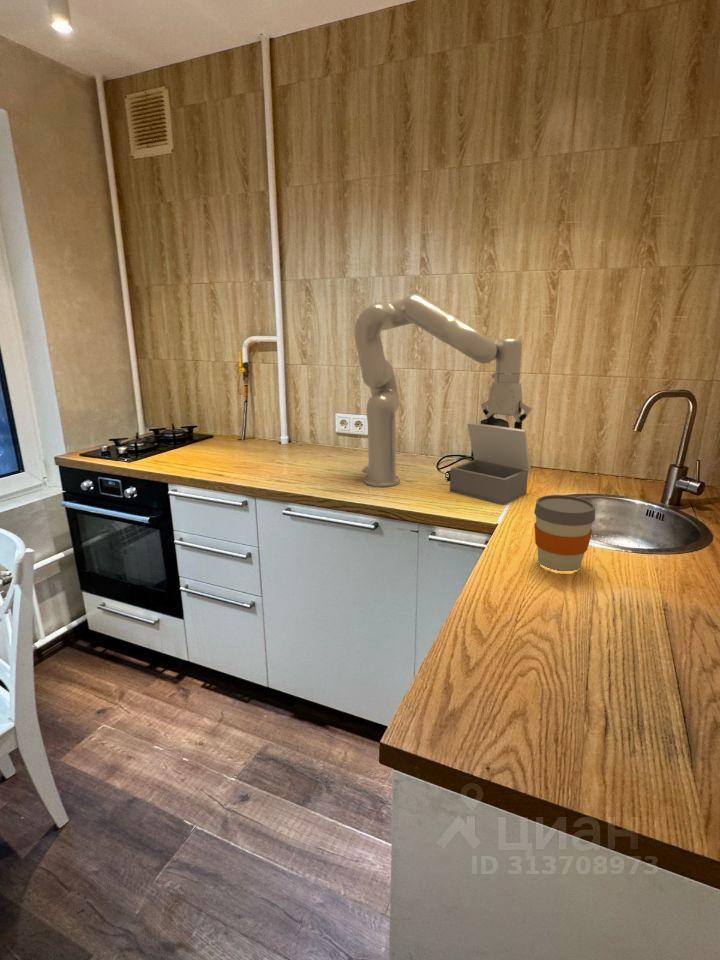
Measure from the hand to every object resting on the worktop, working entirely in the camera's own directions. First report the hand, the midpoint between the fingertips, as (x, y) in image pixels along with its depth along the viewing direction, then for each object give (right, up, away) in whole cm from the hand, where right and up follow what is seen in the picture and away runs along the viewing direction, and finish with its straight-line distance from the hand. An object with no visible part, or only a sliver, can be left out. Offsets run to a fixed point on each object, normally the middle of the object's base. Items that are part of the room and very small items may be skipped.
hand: (503, 431), depth 167 cm
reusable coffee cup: (-2, -36, -50) cm, 62 cm away
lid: (-2, -5, -1) cm, 6 cm away
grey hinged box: (-5, -20, 0) cm, 21 cm away
